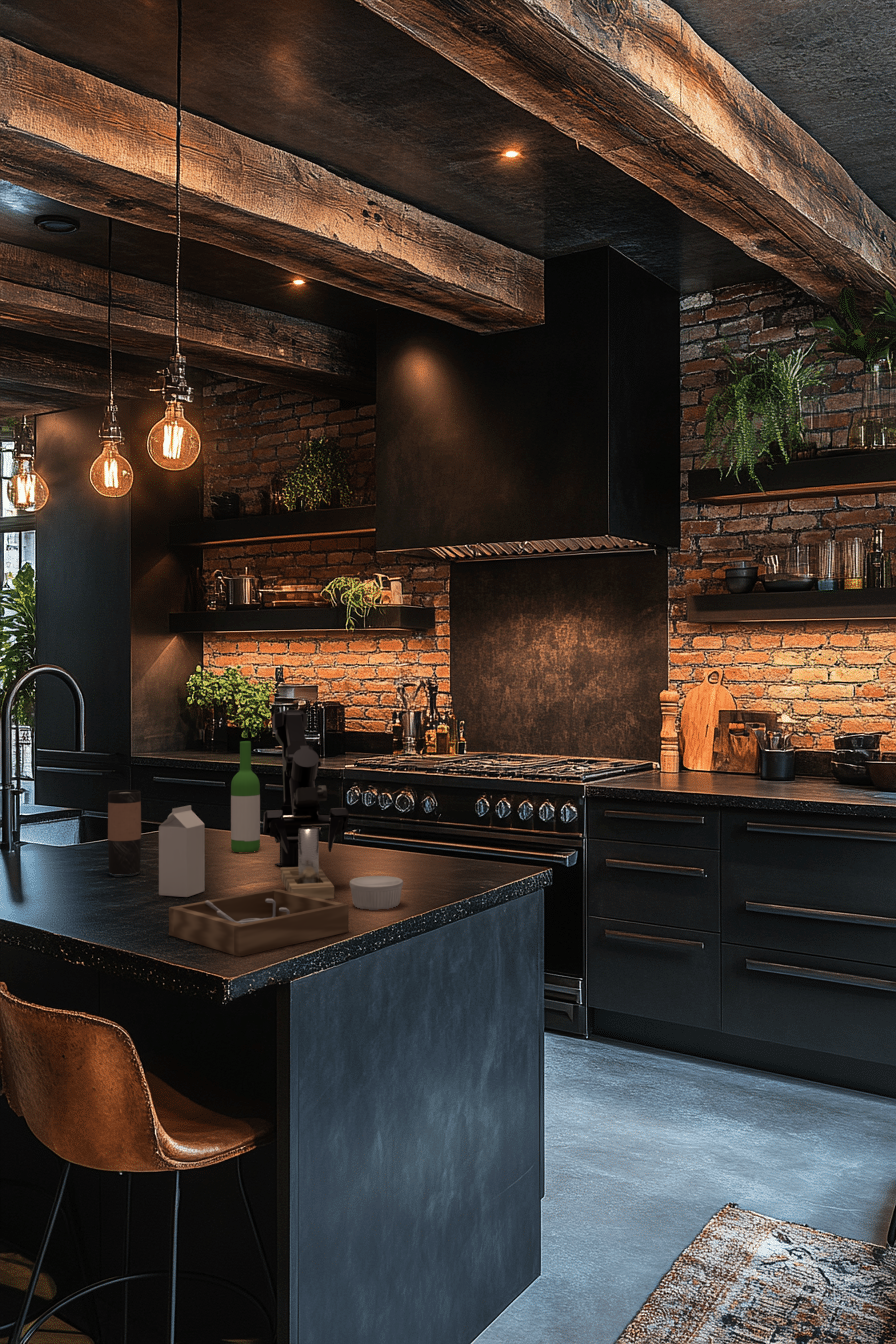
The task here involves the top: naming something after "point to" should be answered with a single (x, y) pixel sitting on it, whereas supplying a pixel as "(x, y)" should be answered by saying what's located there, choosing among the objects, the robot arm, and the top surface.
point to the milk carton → (181, 854)
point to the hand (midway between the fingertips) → (309, 851)
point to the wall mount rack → (248, 918)
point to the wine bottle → (245, 805)
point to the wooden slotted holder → (310, 889)
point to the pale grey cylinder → (308, 855)
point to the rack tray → (299, 926)
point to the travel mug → (124, 831)
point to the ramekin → (376, 892)
